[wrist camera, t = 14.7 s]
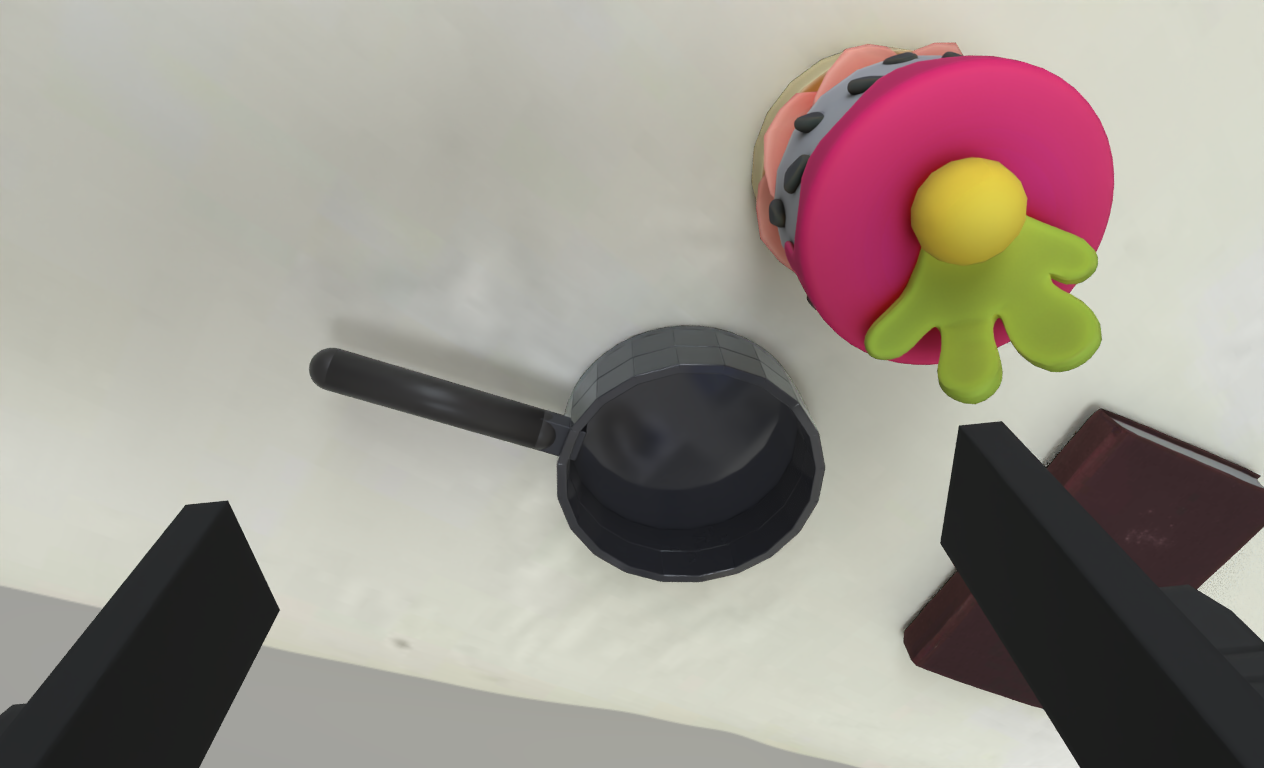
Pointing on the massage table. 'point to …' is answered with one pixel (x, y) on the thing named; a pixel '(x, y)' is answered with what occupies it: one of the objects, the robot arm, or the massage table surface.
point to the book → (1131, 514)
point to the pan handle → (441, 401)
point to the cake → (939, 208)
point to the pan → (688, 456)
